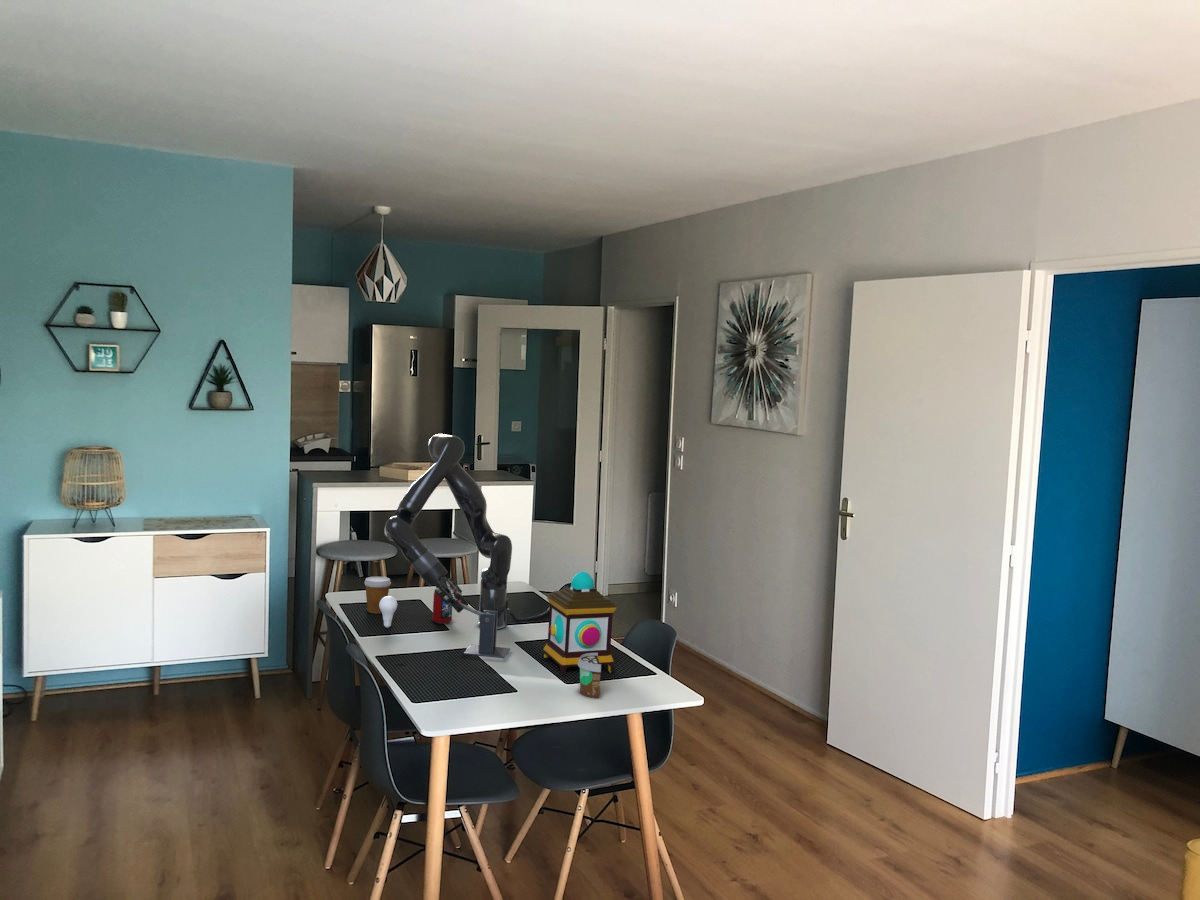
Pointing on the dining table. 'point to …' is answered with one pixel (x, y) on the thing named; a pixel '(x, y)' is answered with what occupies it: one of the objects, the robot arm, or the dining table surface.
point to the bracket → (487, 638)
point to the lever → (470, 609)
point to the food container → (589, 675)
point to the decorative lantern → (579, 624)
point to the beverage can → (441, 610)
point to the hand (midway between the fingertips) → (463, 608)
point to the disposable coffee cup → (376, 592)
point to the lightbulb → (388, 609)
